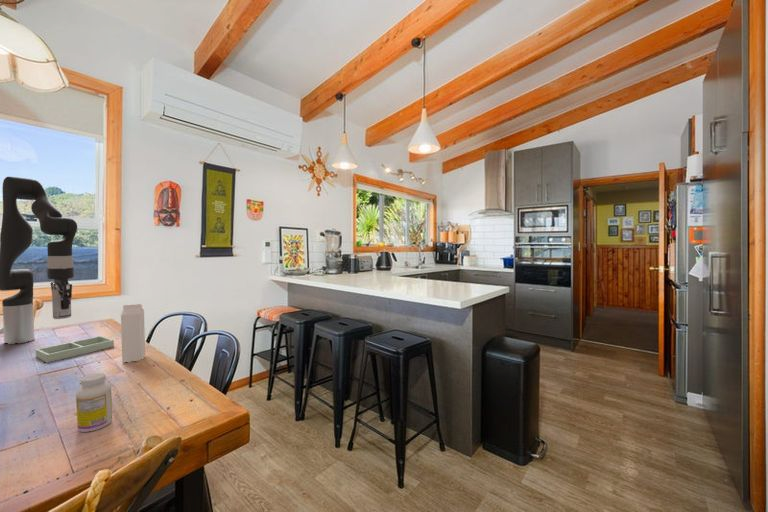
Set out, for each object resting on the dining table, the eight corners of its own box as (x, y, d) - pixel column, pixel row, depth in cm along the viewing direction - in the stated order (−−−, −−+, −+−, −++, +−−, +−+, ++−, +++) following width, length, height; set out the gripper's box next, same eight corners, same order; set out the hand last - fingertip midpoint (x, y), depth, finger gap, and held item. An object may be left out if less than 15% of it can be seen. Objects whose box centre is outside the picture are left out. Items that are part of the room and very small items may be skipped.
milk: (141, 361, 126) (139, 305, 124) (121, 363, 123) (120, 306, 122) (145, 356, 131) (144, 302, 130) (127, 357, 129) (125, 303, 127)
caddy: (36, 356, 129) (35, 349, 129) (101, 342, 147) (100, 335, 147) (47, 362, 123) (47, 354, 123) (113, 346, 142) (113, 339, 142)
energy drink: (75, 316, 133) (74, 287, 133) (60, 319, 128) (59, 289, 127) (63, 315, 134) (62, 287, 133) (49, 319, 129) (47, 289, 128)
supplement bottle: (92, 418, 85) (90, 371, 85) (118, 418, 86) (117, 371, 85) (69, 434, 79) (67, 382, 78) (98, 432, 79) (96, 382, 79)
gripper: (40, 266, 130) (42, 307, 131) (54, 268, 123) (56, 312, 124) (65, 265, 137) (67, 304, 138) (80, 267, 130) (81, 308, 131)
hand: (62, 308), depth 131 cm, fingers closed on energy drink, 5 cm apart
